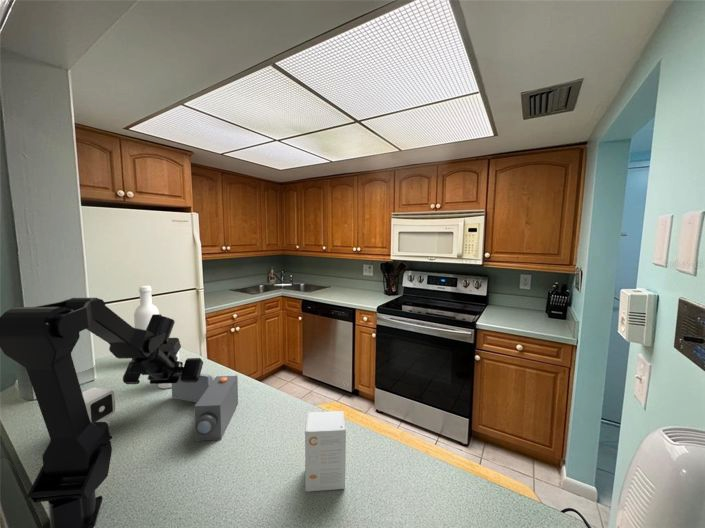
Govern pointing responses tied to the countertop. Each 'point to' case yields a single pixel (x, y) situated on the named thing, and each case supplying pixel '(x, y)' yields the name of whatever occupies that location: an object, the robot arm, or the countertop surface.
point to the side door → (191, 388)
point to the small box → (325, 451)
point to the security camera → (99, 404)
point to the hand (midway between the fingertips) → (175, 380)
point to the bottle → (144, 308)
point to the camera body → (216, 407)
